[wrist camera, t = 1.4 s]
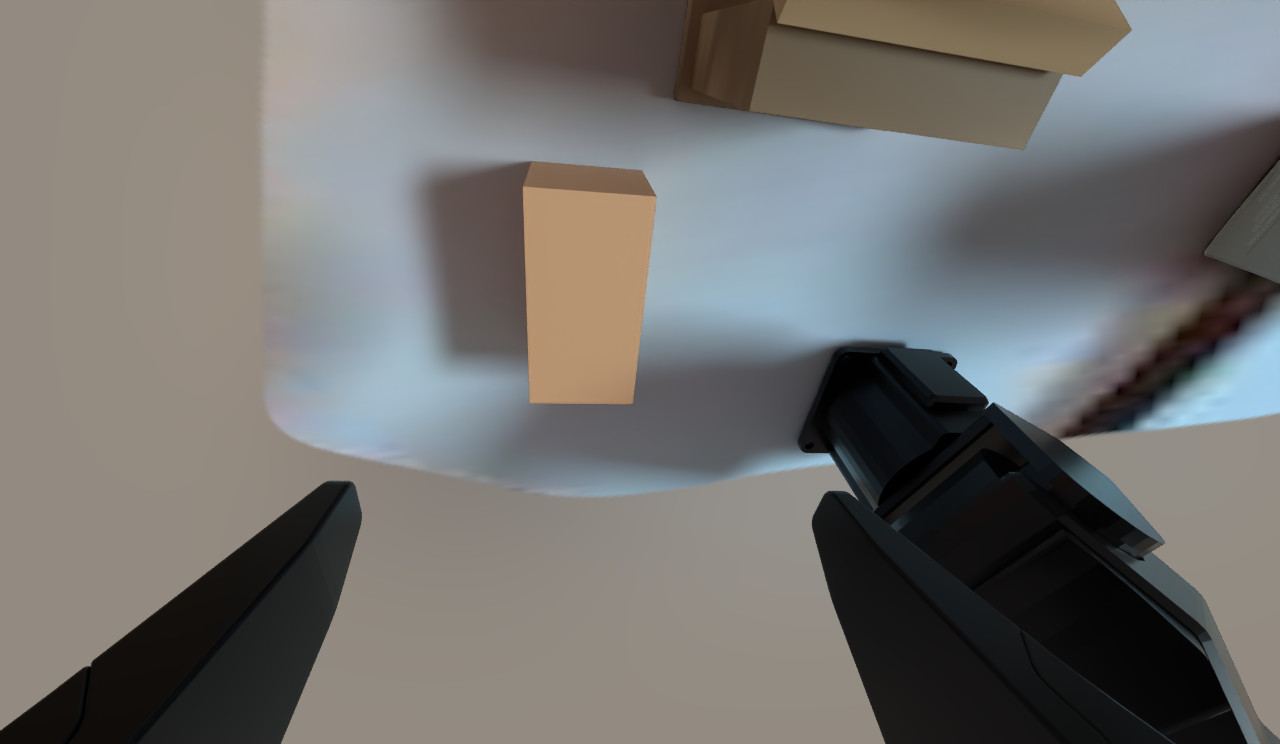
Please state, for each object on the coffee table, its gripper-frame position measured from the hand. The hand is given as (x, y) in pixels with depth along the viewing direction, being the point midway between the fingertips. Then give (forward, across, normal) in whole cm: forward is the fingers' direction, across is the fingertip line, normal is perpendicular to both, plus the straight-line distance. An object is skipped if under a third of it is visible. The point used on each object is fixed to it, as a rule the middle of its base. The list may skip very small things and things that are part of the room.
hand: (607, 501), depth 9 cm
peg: (+13, 0, 0) cm, 13 cm away
